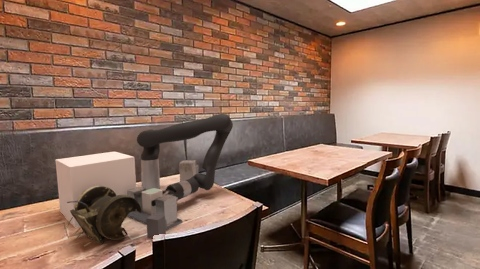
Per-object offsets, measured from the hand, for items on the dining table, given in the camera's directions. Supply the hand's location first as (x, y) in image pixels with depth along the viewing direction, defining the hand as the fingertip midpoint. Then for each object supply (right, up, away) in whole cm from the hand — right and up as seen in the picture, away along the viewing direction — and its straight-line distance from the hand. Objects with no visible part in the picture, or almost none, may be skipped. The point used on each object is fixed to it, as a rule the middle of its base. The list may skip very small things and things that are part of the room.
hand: (147, 202), depth 107 cm
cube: (-26, -8, +12) cm, 29 cm away
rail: (+1, -8, +3) cm, 8 cm away
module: (+2, -6, +3) cm, 7 cm away
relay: (+7, -9, -11) cm, 16 cm away
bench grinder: (-12, -10, -11) cm, 19 cm away
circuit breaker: (+9, -3, +46) cm, 47 cm away
